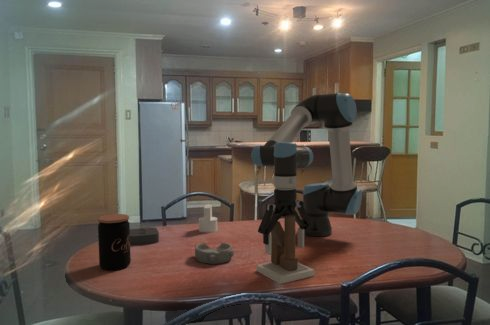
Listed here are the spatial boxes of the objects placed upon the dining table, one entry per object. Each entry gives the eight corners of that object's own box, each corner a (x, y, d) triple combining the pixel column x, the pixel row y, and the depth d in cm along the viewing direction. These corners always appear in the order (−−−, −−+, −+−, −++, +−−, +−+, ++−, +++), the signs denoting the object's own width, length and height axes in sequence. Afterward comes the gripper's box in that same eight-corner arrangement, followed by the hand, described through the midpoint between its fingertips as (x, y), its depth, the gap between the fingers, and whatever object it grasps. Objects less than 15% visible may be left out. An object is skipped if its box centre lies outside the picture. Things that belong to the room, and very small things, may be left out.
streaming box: (127, 239, 182) (126, 229, 182) (156, 236, 186) (155, 227, 186) (128, 247, 170) (128, 236, 170) (159, 244, 174) (159, 234, 174)
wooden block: (279, 260, 144) (279, 210, 143) (297, 269, 135) (298, 216, 133) (270, 262, 142) (270, 211, 141) (288, 271, 133) (289, 217, 132)
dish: (191, 256, 158) (190, 243, 157) (224, 251, 163) (224, 239, 163) (202, 268, 144) (201, 254, 144) (238, 262, 150) (238, 249, 149)
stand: (256, 270, 141) (256, 263, 141) (289, 263, 148) (289, 257, 148) (279, 284, 129) (280, 276, 129) (314, 275, 136) (314, 268, 136)
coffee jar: (113, 273, 139) (111, 221, 137) (93, 268, 144) (91, 218, 143) (137, 264, 148) (135, 215, 146) (117, 259, 153) (115, 212, 152)
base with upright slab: (216, 233, 191) (216, 208, 190) (197, 233, 191) (197, 208, 190) (218, 228, 200) (218, 204, 199) (199, 228, 200) (199, 204, 199)
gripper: (259, 193, 126) (259, 259, 128) (321, 186, 139) (320, 247, 141) (247, 189, 133) (247, 253, 135) (307, 184, 145) (306, 242, 147)
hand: (284, 250), depth 138 cm, fingers open, 13 cm apart
